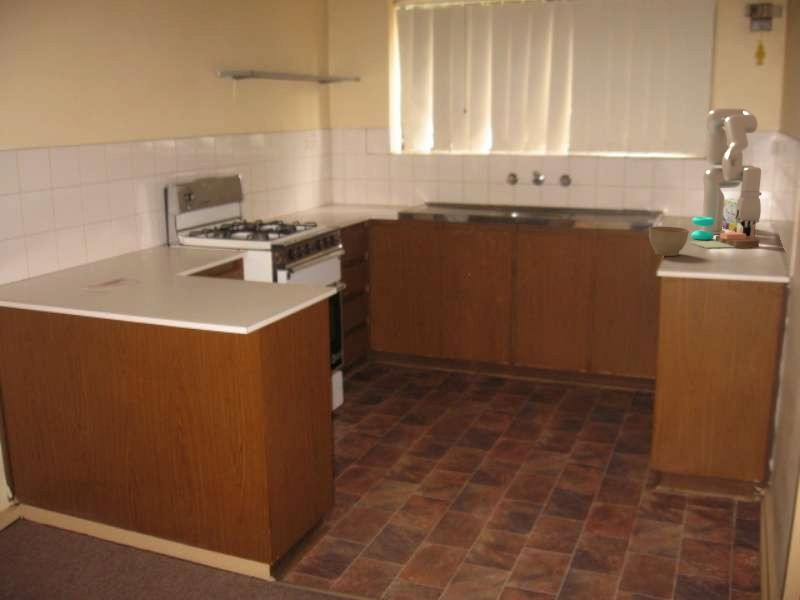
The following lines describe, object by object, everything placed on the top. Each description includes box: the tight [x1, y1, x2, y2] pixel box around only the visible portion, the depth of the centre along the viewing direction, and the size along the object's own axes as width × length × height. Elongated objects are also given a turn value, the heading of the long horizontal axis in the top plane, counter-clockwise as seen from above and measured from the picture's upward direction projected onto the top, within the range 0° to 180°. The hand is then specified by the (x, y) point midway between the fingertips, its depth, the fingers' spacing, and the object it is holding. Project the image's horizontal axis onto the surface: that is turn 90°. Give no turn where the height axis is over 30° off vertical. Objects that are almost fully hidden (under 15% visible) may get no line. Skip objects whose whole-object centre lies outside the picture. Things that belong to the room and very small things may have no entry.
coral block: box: [719, 231, 746, 239], centre depth 378 cm, size 6×9×2 cm, turn 97°
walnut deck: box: [715, 235, 760, 249], centre depth 378 cm, size 17×11×3 cm, turn 9°
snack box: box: [722, 198, 738, 232], centre depth 421 cm, size 21×6×15 cm, turn 5°
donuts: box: [690, 216, 715, 241], centre depth 395 cm, size 10×10×10 cm
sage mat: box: [689, 240, 736, 250], centre depth 377 cm, size 16×13×1 cm
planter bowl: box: [648, 226, 690, 257], centre depth 353 cm, size 16×16×11 cm
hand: (746, 235), depth 378 cm, fingers closed
